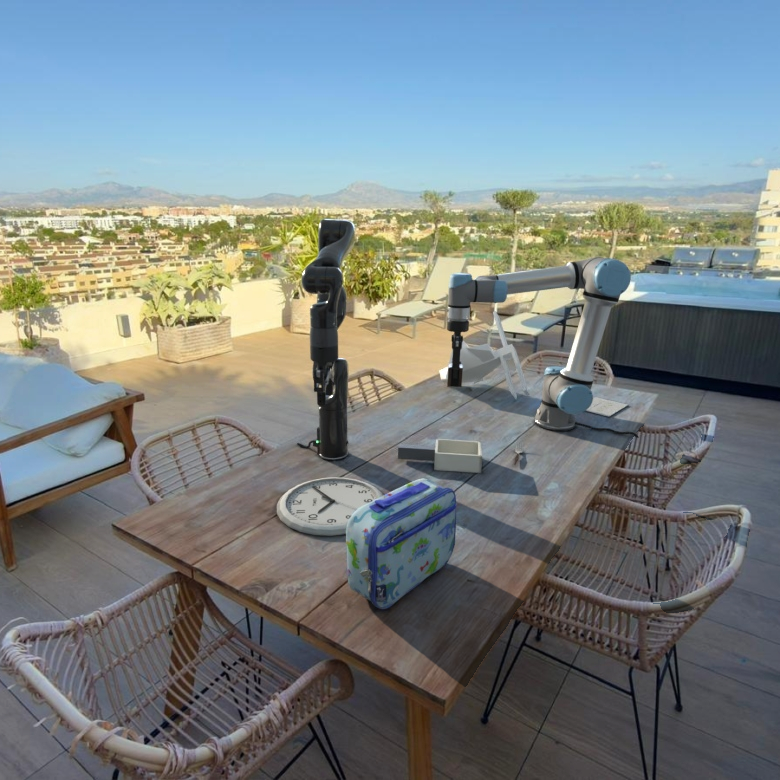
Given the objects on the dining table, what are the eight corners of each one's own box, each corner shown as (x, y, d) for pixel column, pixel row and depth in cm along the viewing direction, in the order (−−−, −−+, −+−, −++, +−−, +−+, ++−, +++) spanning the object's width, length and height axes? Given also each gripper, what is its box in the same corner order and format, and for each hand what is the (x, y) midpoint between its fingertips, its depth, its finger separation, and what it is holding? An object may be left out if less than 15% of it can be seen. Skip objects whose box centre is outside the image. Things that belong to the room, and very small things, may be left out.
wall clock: (392, 527, 129) (268, 531, 127) (391, 533, 130) (269, 537, 127) (383, 473, 158) (282, 475, 155) (383, 478, 158) (282, 480, 156)
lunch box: (375, 622, 100) (376, 527, 94) (339, 595, 108) (338, 505, 101) (459, 565, 118) (465, 481, 112) (424, 545, 125) (427, 465, 119)
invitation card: (608, 416, 214) (573, 407, 224) (608, 416, 214) (573, 408, 224) (628, 404, 229) (594, 396, 238) (628, 405, 229) (594, 397, 238)
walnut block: (461, 383, 189) (462, 364, 187) (461, 387, 184) (462, 368, 182) (447, 382, 189) (448, 363, 187) (447, 386, 185) (448, 367, 182)
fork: (510, 465, 168) (510, 460, 168) (516, 447, 182) (517, 442, 182) (518, 467, 167) (519, 461, 167) (524, 448, 182) (524, 443, 181)
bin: (479, 457, 174) (480, 441, 173) (481, 473, 163) (482, 456, 161) (400, 452, 177) (400, 436, 175) (396, 467, 166) (396, 450, 164)
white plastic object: (461, 429, 252) (437, 405, 227) (444, 352, 274) (420, 323, 250) (535, 404, 240) (518, 377, 215) (510, 326, 262) (492, 293, 237)
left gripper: (317, 336, 147) (318, 391, 152) (303, 348, 134) (305, 407, 139) (343, 337, 146) (343, 392, 151) (331, 349, 133) (332, 409, 138)
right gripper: (447, 314, 189) (444, 376, 196) (446, 323, 171) (443, 391, 178) (468, 315, 188) (464, 377, 195) (469, 324, 171) (465, 392, 178)
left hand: (325, 400), depth 145 cm, fingers open, 8 cm apart
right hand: (454, 384), depth 187 cm, fingers closed on walnut block, 5 cm apart
